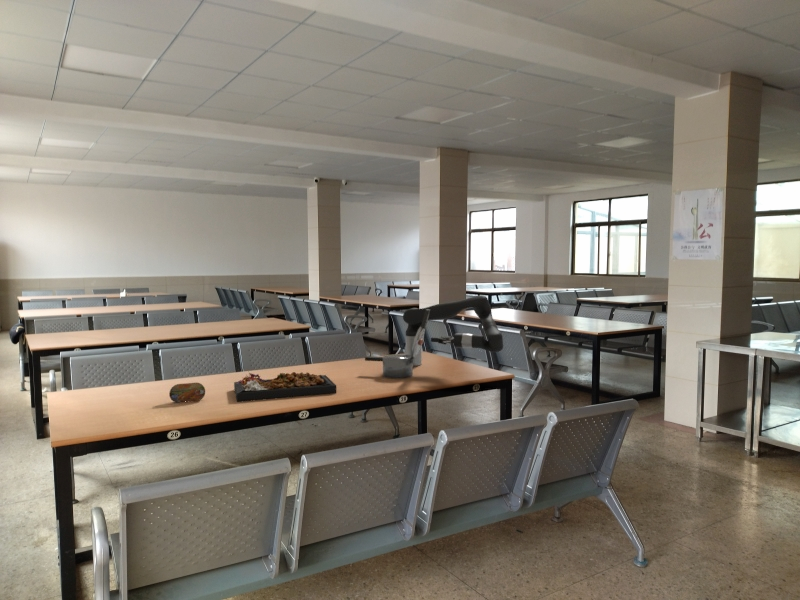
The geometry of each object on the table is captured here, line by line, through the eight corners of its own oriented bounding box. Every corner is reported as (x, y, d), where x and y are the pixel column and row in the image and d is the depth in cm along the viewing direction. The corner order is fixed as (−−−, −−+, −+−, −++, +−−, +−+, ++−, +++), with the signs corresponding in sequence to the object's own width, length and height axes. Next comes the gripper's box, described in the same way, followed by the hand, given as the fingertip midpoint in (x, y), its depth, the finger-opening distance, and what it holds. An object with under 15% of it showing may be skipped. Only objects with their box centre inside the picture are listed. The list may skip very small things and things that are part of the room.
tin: (169, 403, 254) (168, 385, 253) (170, 402, 257) (169, 383, 257) (205, 401, 258) (204, 382, 258) (205, 399, 261) (205, 381, 261)
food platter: (237, 403, 256) (236, 380, 255) (234, 391, 279) (233, 370, 278) (336, 394, 270) (336, 372, 270) (326, 383, 294) (325, 363, 293)
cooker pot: (417, 373, 314) (417, 355, 313) (409, 379, 299) (409, 360, 298) (371, 370, 322) (370, 353, 321) (361, 376, 306) (360, 358, 306)
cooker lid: (416, 354, 314) (421, 356, 313) (407, 360, 298) (413, 362, 297) (428, 307, 310) (434, 308, 309) (420, 310, 294) (426, 311, 293)
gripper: (466, 331, 303) (434, 330, 308) (461, 335, 290) (428, 334, 295) (466, 346, 304) (434, 344, 309) (461, 350, 291) (428, 348, 296)
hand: (431, 339), depth 302 cm, fingers closed
